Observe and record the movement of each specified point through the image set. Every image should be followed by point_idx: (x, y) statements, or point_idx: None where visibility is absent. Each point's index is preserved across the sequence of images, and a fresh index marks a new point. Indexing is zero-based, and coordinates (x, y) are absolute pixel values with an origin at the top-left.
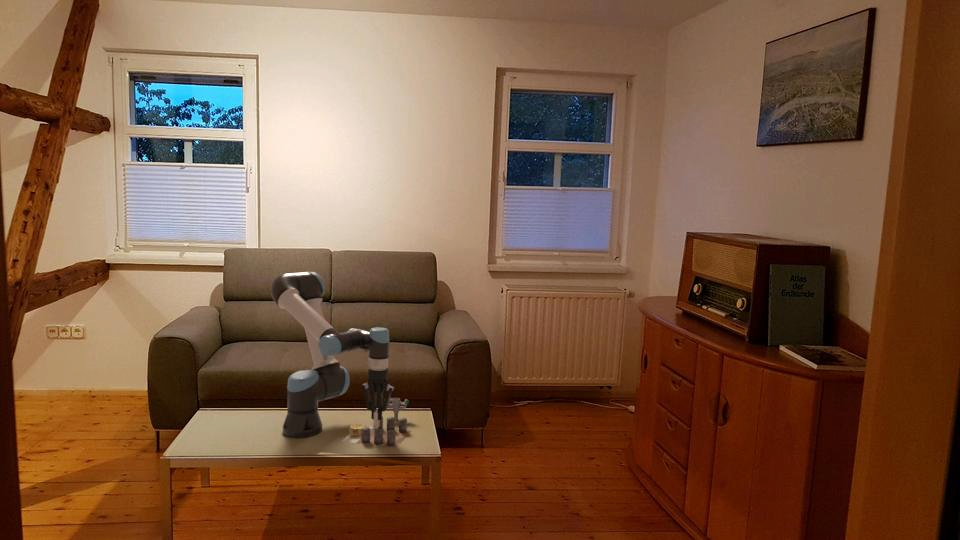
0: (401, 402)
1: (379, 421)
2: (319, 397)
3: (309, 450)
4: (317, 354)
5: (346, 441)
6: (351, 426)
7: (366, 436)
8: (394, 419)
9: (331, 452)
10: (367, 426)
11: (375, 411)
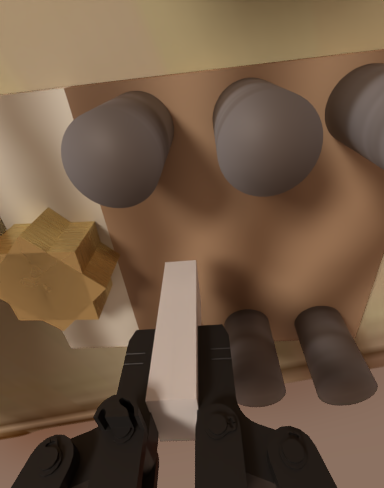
0: None
1: (196, 291)
2: None
3: (25, 396)
4: None
5: (92, 344)
6: (10, 301)
7: None
8: (317, 150)
9: (103, 393)
10: (12, 98)
11: (165, 428)
